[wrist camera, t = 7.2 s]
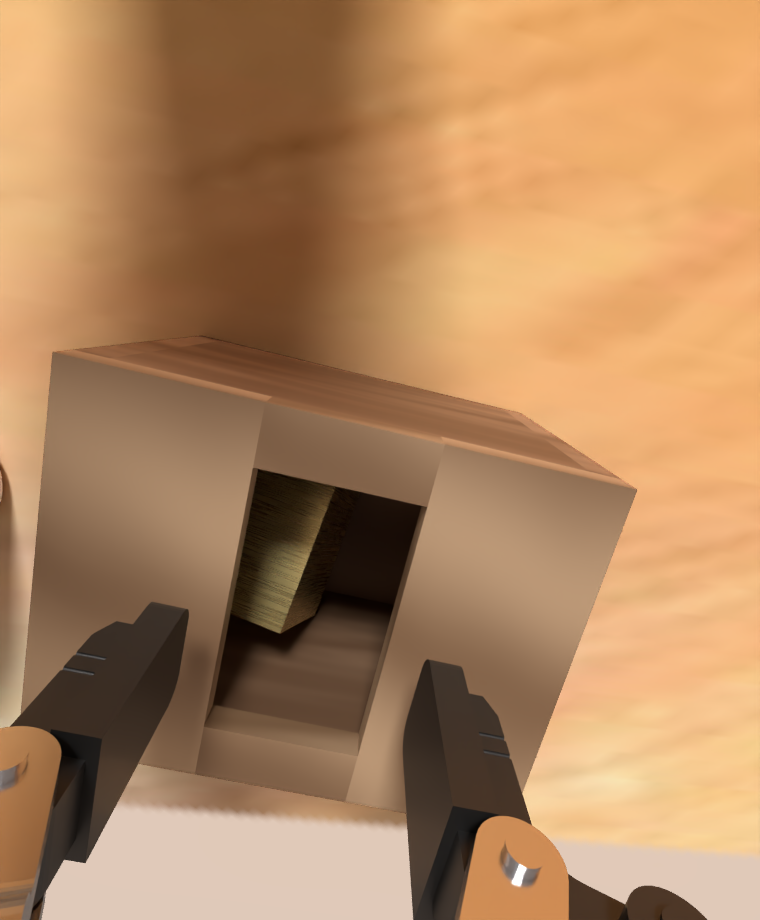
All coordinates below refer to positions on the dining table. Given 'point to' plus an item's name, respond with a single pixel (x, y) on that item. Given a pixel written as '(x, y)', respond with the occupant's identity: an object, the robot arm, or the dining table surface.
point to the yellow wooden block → (289, 548)
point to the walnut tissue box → (355, 568)
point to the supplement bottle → (0, 486)
